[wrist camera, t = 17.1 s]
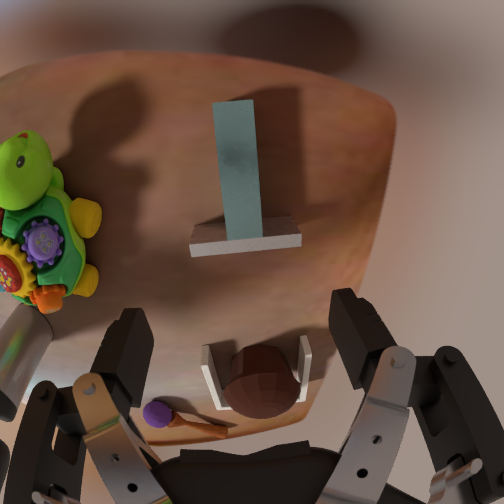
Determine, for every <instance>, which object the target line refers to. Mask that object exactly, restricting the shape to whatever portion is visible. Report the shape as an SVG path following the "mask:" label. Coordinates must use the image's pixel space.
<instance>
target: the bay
mask: <svg viewBox="0 0 504 504" xmlns="http://www.w3.org/2000/svg"><path fill="white" fill-rule="evenodd" d="M311 359H312V352H311V349H310V346H309V342H308V339H307V336H306V335H303V336H300V343H299V357H298V369H297V381H298V382H299V383H301V392H300V395H299V398H298V399H297V401H296V402H302V401H305V400H306V393H307V387H308V380H309V374H310V366H311ZM201 368H202V370H203V373H204V376H205V379H206V382H207V385H208V387H209V390H210V393H211V395H212V398H213V401H214V403H215V406H216V408H217V410H229V409H232V408H231V407H230V406H229V405H228V403H227V402H226V400H225V398H224V396H223V392H224V390H222V389H221V386H220V383H219V379H218V376H217V373H216V369H215V366H214V362H213V359H212V355H211V352H210V348H209V345H205V346H202V357H201Z"/></svg>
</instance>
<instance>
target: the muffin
mask: <svg viewBox="0 0 504 504" xmlns="http://www.w3.org/2000/svg"><path fill="white" fill-rule="evenodd" d="M300 392H301V383H299V382H298V381H297V380H296V379H295V378H294V376H293V373H292V371H291V369H290V367H289V364H288V362H287V360H286V358H285V356H284V355H283V354H282V353H281V352H280V351H279V349H278V348H277V347H271V346H266V345H263V344H259V345H255V346H251V347H244V348H243V349H242V350H241V351H240V352H239V353H237V354H236V355H234V356H233V358H232V364H231V371H230V378H229V383H228V385H227V386H226V388H225V390H224V392H223V396H224V398H225V400H226V402H227V403H228V405H229V406H230V407H231V408H232V409H233V410H234V411H236V412H238V413H240V414H242V415H244V416H246V417H250V418H256V419H267V418H272V417H276V416H278V415H280V414H282V413H284V412H286V411H287V410H289V409H290V408H291V407H292V406H293V405H294V403H295V402H296V401H297V399H298V398H299V395H300Z"/></svg>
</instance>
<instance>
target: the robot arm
mask: <svg viewBox="0 0 504 504" xmlns="http://www.w3.org/2000/svg"><path fill="white" fill-rule="evenodd" d="M328 320H329V328H330V332H331V334H332V336H333V339H334V341H335V344H336V346H337V349H338V351H339V353H340V356H341V358H342V361H343V363H344V366H345V368H346V371H347V373H348V376H349V378H350V381H351V384H352V386H353V389H354V390H356V389H360V388H363V389H364V392H365V395H364V397H363V399H362V402H361V404H360V407H359V409H358V411H357V414H356V416H355V418H354V421H353V423H352V425H351V428H350V429H349V432H348V434H347V436H346V438H345V439H344V441H343V443H342V445H341V447H340V449H339V451H338V453H337V452H334V451H332V450H328V449H324V448H318V447H310V445H309V441H308V440H307V441H301V442H295V443H288V444H281V445H276V446H273V447H270V448H267V449H264V450H261V451H258V452H255V453H252V454H249V455H236V454H230V453H224V452H219V451H214V450H187V449H181V450H180V456H179V457H175V458H171V459H169V460H166V461H164V462H162V461H161V459H160V458H159V457H158V456H157V455H156V454H155V452H154V451H153V450H152V449H151V447H150V446H149V444H148V443H147V441H146V440H145V438H144V437H143V435H142V433H141V432H140V430H139V429H138V427H137V425H136V424H135V422H134V420H133V418H132V417H131V415H130V414H129V412H130V408H131V407H137V408H140V406H141V400H142V396H143V391H144V386H145V381H146V377H147V372H148V368H149V364H150V359H151V355H152V351H153V347H154V338H153V334H152V331H151V329H150V326H149V324H148V321H147V318H146V316H145V313H144V311H143V309H142V308H125V309H124V310H123V312H122V314H121V317H120V319H119V320H115V321H114V322H113V323H112V324H111V325H110V326H109V327H108V329H107V331H106V333H105V336H104V339H103V340H102V343H101V346H100V347H99V350H98V352H97V355H96V357H95V360H94V362H93V365H92V367H91V370H90V372H89V373H86V374H83V375H81V376H80V377H79V378H78V379H77V380H76V381H75V382H74V385H73V386H70V387H64V388H57V387H56V386H55V385H54V383H52V382H51V381H48V380H45V381H41V382H39V383H38V384H37V385H36V386H35V387H34V388H33V390H32V392H31V395H30V397H29V400H28V403H27V406H26V409H25V411H24V414H23V418H22V420H21V424H20V427H19V430H18V433H17V437H16V441H15V445H14V448H13V452H12V456H11V461H10V451H9V448H8V446H7V445H6V444H5V443H4V442H3V441H2V440H1V439H0V492H1V489H2V486H3V483H4V480H5V477H6V474H7V471H8V475H7V481H6V487H5V494H4V502H3V504H81V503H80V495H81V484H82V476H83V468H84V461H85V455H86V449H88V451H89V453H90V455H91V458H92V460H93V462H94V464H95V466H96V468H97V470H98V472H99V474H100V476H101V478H102V480H103V482H104V483H105V486H106V487H107V489H108V491H109V493H110V494H111V496H112V498H113V500H114V501H115V503H116V504H426V503H424V502H422V501H420V500H418V499H416V498H414V497H412V496H410V495H408V494H406V493H404V492H403V491H401V490H399V489H397V488H395V487H393V486H391V485H390V484H388V483H386V481H387V479H388V477H389V474H390V472H391V469H392V467H393V464H394V461H395V459H396V456H397V453H398V450H399V447H400V444H401V441H402V438H403V434H404V431H405V428H406V425H407V421H408V418H409V409H407V407H413V410H414V412H415V415H416V417H417V420H418V423H419V425H420V428H421V431H422V433H423V436H424V439H425V441H426V444H427V447H428V450H429V453H430V456H431V459H432V462H433V465H434V468H435V471H436V474H435V475H434V476H433V478H432V480H431V484H430V494H431V495H430V499H429V502H428V504H489V503H492V502H494V501H496V500H498V499H500V498H502V497H504V430H503V427H502V425H501V423H500V421H499V419H498V417H497V415H496V413H495V411H494V409H493V407H492V405H491V403H490V401H489V399H488V397H487V395H486V393H485V391H484V390H483V388H482V386H481V384H480V382H479V381H478V379H477V377H476V376H475V374H474V372H473V371H472V369H471V367H470V366H469V364H468V362H467V361H466V359H465V357H464V356H463V354H462V353H461V352H460V351H459V350H458V349H456V348H454V347H452V346H443V347H440V348H439V349H438V350H437V351H436V353H435V355H434V356H414V354H413V353H412V352H411V351H410V350H408V349H407V348H404V347H401V346H398V345H397V344H396V342H395V341H394V339H393V337H392V335H391V334H390V332H389V331H388V329H387V327H386V326H385V324H384V323H383V321H381V318H380V316H379V315H378V314H377V312H376V310H375V308H374V307H373V305H372V304H371V303H369V302H368V301H367V300H365V299H364V298H357V297H356V295H355V293H354V292H353V290H352V289H351V288H344V289H337V290H333V291H332V295H331V303H330V311H329V319H328ZM52 338H53V332H52V329H51V326H50V325H49V323H48V321H47V320H46V319H45V318H44V316H43V315H42V314H41V313H40V312H38V311H37V310H36V309H34V308H33V307H31V306H29V305H25V304H20V305H18V306H17V308H16V309H15V310H14V312H13V313H12V314H11V316H10V317H9V318H8V320H7V321H6V322H5V324H4V325H3V327H2V328H1V330H0V420H3V421H6V422H11V421H13V420H14V418H15V415H16V413H17V410H18V407H19V405H20V403H21V400H22V398H23V395H24V393H25V391H26V389H27V387H28V384H29V382H30V380H31V378H32V376H33V374H34V372H35V370H36V368H37V366H38V364H39V362H40V360H41V358H42V356H43V355H44V353H45V351H46V349H47V347H48V345H49V344H50V342H51V340H52ZM56 426H57V427H58V428H59V429H58V433H57V437H56V441H55V445H54V450H52V440H53V436H54V432H55V427H56ZM9 462H10V465H9ZM8 467H9V470H8Z"/></svg>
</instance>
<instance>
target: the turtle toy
mask: <svg viewBox="0 0 504 504" xmlns="http://www.w3.org/2000/svg"><path fill="white" fill-rule="evenodd" d="M101 219H102V210H101V207H100V205H99V204H98V203H96V202H93V201H90V200H87V199H83V198H76V199H75V200H74V201H72V200H71V199H70V198H69V196H68V195H67V194H66V193H65V192H64V181H63V176H62V173H61V171H60V170H59V169H58V168H56V167H53V160H52V155H51V152H50V149H49V147H48V145H47V143H46V141H45V140H44V139H43V137H42V136H41V135H40V134H38V133H36V132H34V131H31V130H26V131H22V132H20V133H18V134H16V135H15V136H13V137H12V138H9V139H8V140H6V141H5V142H4V143H2V144H0V292H4V291H7V292H10V293H12V296H13V297H14V298H15V299H17V300H19V301H21V302H23V303H24V304H25V305H33V306H35V305H37V306H38V308H39V310H40V312H41V313H44V314H49V313H54V312H56V311H58V310H60V309H61V308H62V305H63V302H62V298H63V297H65V296H69V295H70V294H71V293H73V294H75V295H77V294H78V295H81V296H84V297H89V296H91V295H92V294H93V293H94V292H95V290H96V287H97V285H98V279H99V274H98V271H97V269H96V267H94V266H92V265H90V264H87V263H85V259H86V252H85V244H84V239H83V237H84V238H91V237H93V236H94V235H95V234H96V232H97V231H98V229H99V226H100V223H101Z"/></svg>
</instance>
